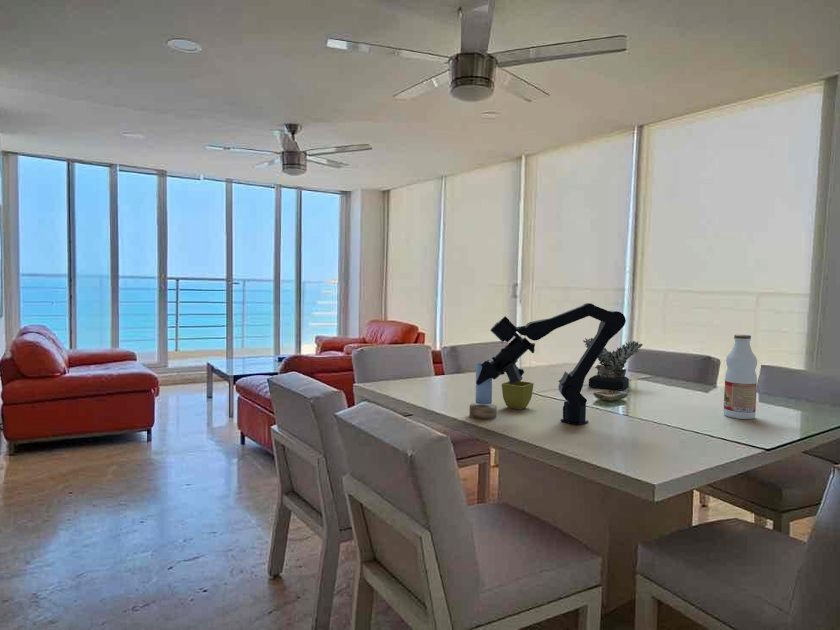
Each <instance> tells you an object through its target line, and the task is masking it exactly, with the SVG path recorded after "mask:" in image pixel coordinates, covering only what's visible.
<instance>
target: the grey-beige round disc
mask: <svg viewBox="0 0 840 630" xmlns="http://www.w3.org/2000/svg"><path fill="white" fill-rule="evenodd" d="M497 410H498V409H497V404H494V403H493V404H492V403H491V404H477V403H476V402H474V403H471V404H469V417H470V418H472V419H475V420H483V421H484V420H493V419H494V420H495V419H496V418H497V415H498V414H497V413H498V412H497Z"/></svg>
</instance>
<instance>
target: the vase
mask: <svg viewBox="0 0 840 630" xmlns="http://www.w3.org/2000/svg"><path fill="white" fill-rule="evenodd" d="M484 362H485V361H483V362H478V363H477V362H476V363H475V403H477V404H492V401H493V379H492V378H489V379H488V380H486V381H485V382H483V383H482V384H480V385H477V384H476V382H477V380H478V377H479V375H480V372H481V369H482V366H481V364H483V363H484Z"/></svg>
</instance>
